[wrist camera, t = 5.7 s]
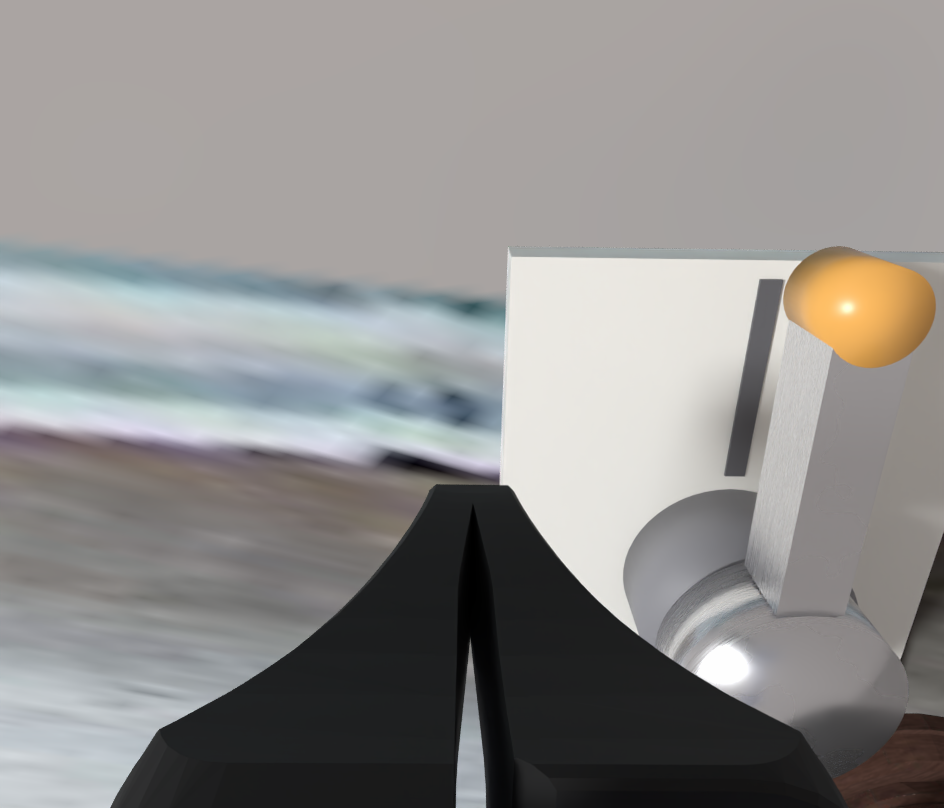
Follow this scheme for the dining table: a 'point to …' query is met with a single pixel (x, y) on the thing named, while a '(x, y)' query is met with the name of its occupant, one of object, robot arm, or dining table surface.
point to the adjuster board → (689, 423)
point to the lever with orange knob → (816, 518)
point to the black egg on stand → (901, 769)
